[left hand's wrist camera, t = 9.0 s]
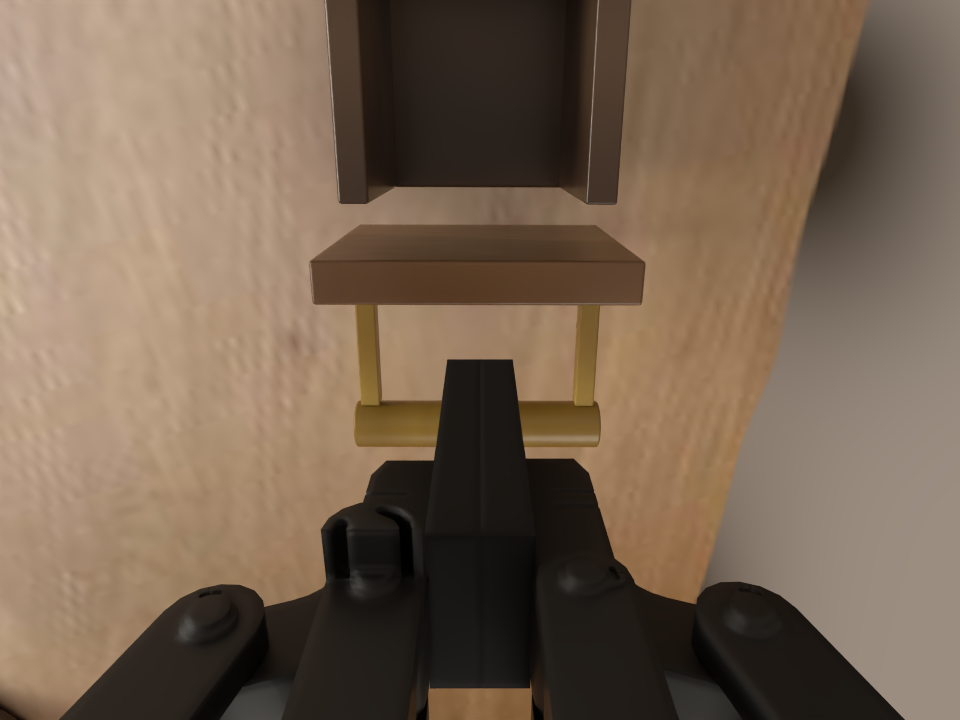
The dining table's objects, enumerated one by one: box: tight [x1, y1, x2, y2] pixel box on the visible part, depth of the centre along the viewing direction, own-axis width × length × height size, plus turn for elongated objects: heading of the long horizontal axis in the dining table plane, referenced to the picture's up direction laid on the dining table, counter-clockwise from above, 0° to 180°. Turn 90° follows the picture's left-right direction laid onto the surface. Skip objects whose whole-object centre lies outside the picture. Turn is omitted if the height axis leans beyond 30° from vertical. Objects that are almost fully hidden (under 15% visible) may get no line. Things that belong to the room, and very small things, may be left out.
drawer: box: [309, 0, 645, 447], centre depth 19 cm, size 22×9×7 cm, turn 0°
